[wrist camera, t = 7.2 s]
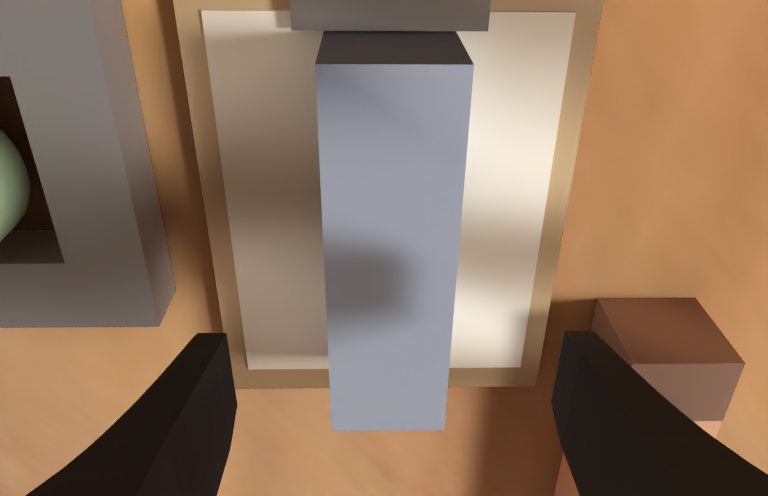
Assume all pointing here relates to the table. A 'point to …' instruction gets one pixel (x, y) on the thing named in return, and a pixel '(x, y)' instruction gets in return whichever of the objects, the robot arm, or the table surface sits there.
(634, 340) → the block
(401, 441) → the table surface
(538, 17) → the tan flat tray
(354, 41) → the grey rectangular bar
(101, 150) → the button housing
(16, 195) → the button
